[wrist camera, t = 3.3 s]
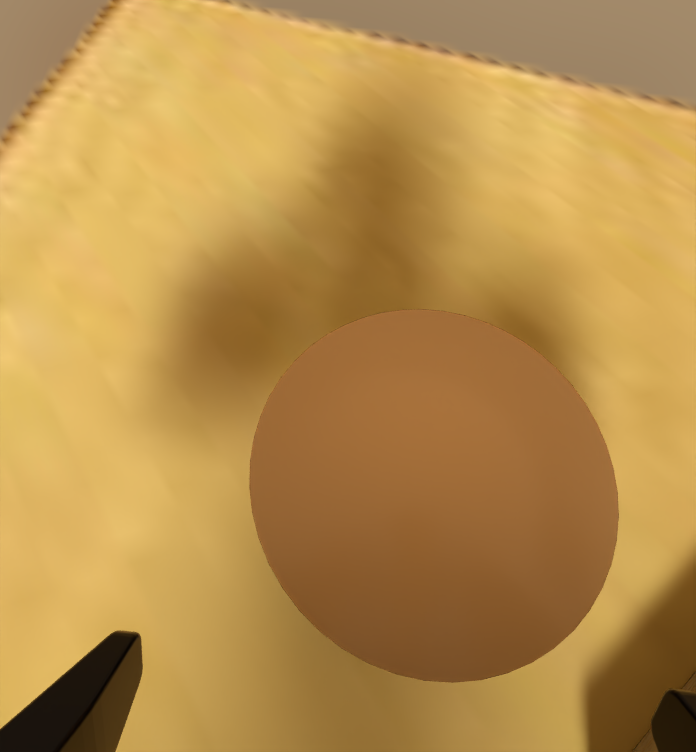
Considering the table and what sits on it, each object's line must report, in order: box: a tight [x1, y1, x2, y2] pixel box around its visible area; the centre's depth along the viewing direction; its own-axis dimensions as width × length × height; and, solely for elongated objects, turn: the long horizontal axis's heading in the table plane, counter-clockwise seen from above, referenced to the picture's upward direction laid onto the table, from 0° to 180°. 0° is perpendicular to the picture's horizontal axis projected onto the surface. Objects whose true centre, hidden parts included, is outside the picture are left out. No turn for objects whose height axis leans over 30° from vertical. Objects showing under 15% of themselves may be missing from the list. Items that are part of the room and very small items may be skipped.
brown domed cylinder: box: [250, 309, 619, 682], centre depth 13 cm, size 6×6×13 cm
